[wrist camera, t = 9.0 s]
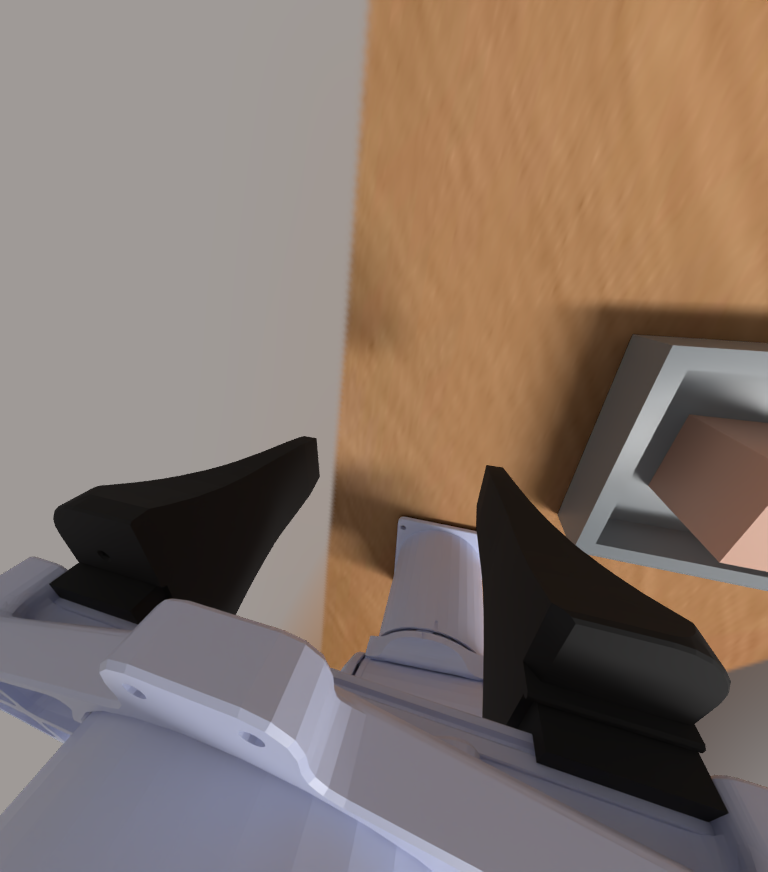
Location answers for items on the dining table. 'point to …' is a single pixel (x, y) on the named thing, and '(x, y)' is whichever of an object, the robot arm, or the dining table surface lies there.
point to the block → (720, 487)
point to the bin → (660, 451)
